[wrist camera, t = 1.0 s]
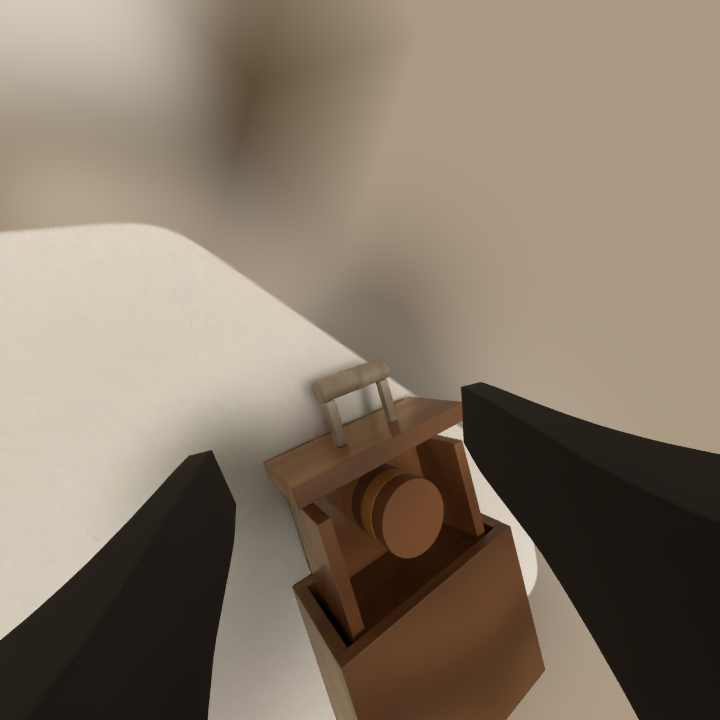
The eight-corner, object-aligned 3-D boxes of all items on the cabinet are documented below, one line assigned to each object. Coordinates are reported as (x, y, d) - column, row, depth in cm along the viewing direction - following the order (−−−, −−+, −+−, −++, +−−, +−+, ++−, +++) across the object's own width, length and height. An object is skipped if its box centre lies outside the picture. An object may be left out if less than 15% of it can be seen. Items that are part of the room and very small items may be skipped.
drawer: (242, 399, 22) (265, 407, 17) (396, 345, 28) (447, 339, 22) (310, 605, 23) (350, 669, 18) (440, 512, 29) (498, 542, 24)
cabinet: (292, 586, 24) (341, 669, 17) (435, 492, 30) (510, 525, 24) (338, 727, 25) (401, 855, 18) (466, 607, 31) (545, 670, 25)
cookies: (403, 505, 26) (451, 532, 22) (353, 538, 24) (395, 575, 19) (388, 449, 26) (433, 465, 21) (334, 477, 23) (373, 501, 19)
